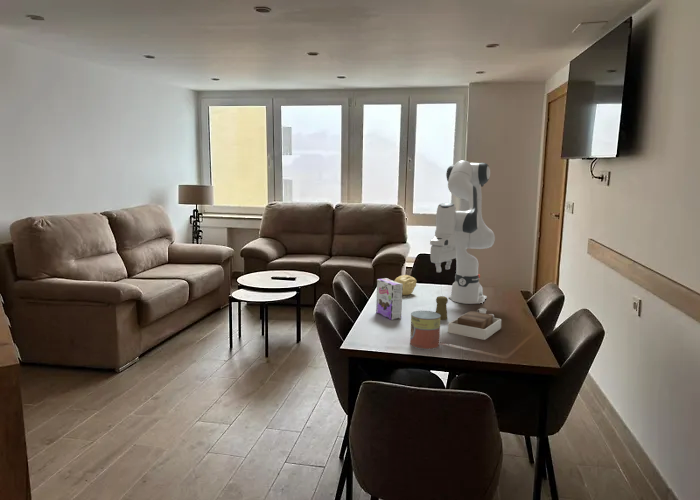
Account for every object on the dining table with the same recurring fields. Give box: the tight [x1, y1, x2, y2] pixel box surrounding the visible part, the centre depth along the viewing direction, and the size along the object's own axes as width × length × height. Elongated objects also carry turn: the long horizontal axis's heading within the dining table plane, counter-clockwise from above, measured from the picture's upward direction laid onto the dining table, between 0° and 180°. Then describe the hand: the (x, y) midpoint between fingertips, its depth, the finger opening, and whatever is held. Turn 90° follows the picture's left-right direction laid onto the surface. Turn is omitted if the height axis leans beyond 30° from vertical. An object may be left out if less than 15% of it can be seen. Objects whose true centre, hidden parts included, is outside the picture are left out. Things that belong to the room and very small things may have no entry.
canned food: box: [409, 310, 441, 351], centre depth 193 cm, size 11×11×12 cm
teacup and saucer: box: [476, 307, 495, 318], centre depth 234 cm, size 9×8×4 cm
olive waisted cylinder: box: [435, 295, 449, 321], centre depth 227 cm, size 6×6×11 cm
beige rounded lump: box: [394, 274, 417, 296], centre depth 276 cm, size 11×12×11 cm
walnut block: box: [457, 310, 494, 329], centre depth 210 cm, size 14×10×6 cm
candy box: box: [375, 277, 403, 321], centre depth 232 cm, size 14×6×16 cm, turn 27°
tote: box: [447, 312, 502, 341], centre depth 210 cm, size 20×16×5 cm
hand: (443, 270), depth 224 cm, fingers open, 8 cm apart
